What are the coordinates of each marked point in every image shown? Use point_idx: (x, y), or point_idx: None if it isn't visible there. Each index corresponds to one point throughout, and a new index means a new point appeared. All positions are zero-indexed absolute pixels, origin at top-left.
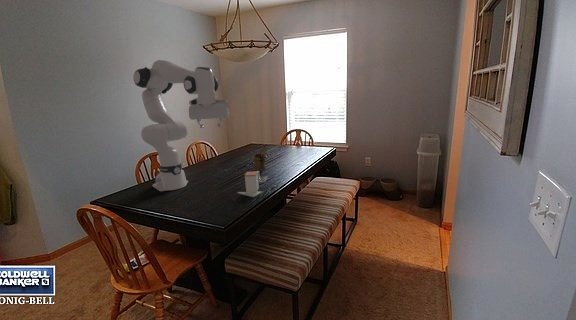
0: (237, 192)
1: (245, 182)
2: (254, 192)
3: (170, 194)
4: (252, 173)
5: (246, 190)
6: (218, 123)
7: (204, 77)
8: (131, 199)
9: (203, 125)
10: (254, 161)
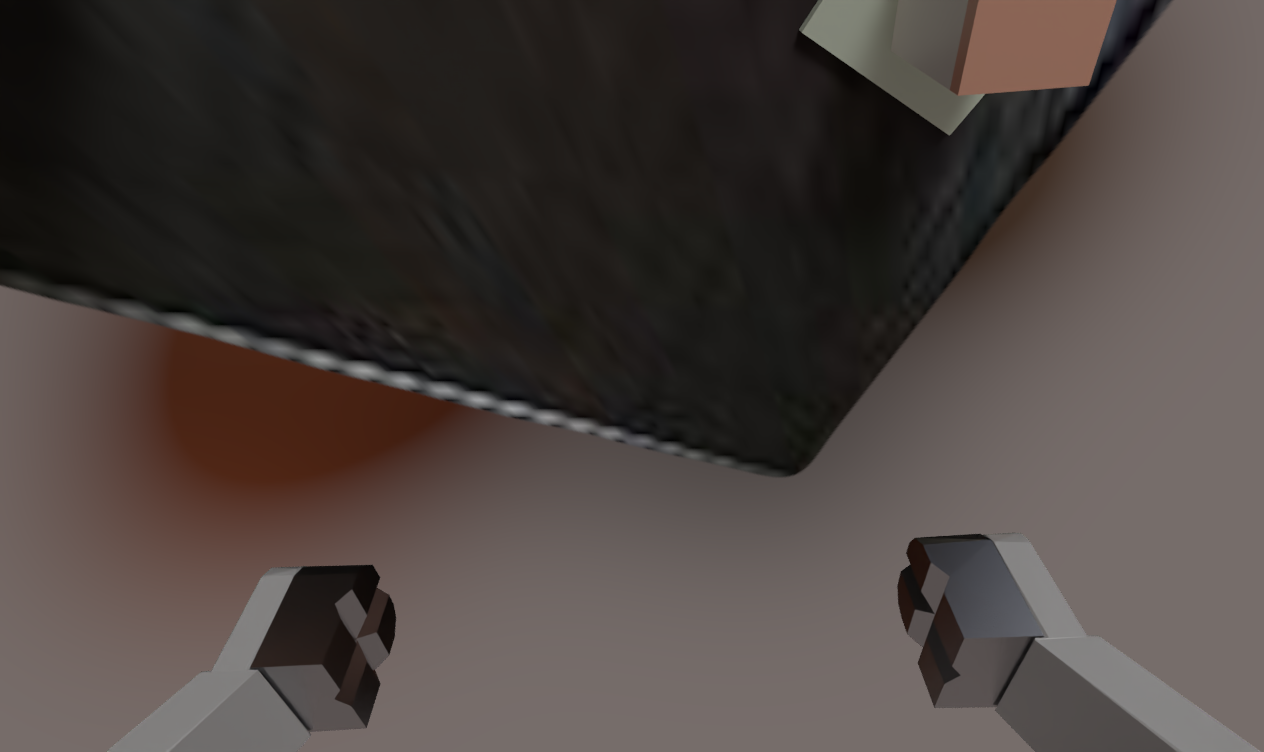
0: (802, 32)
1: (926, 73)
2: None
3: (148, 45)
4: (1057, 37)
5: (900, 54)
6: (959, 656)
7: None
8: None
9: (352, 639)
10: None
